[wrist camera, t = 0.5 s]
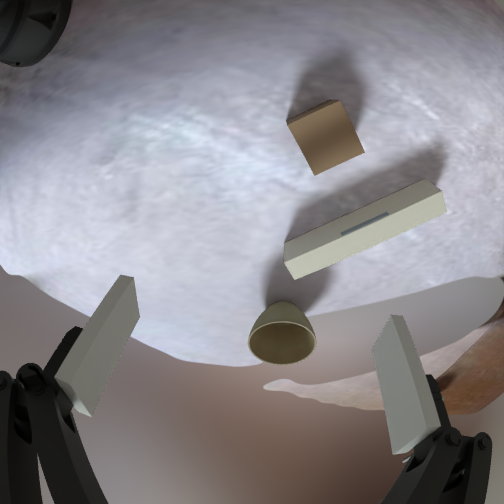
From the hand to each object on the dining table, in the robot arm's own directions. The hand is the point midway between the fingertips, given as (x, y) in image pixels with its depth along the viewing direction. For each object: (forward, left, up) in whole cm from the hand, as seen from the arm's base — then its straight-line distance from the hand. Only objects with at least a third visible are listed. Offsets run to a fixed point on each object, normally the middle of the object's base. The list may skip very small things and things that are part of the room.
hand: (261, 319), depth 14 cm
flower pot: (+21, -9, -25) cm, 34 cm away
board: (+11, +8, -25) cm, 28 cm away
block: (-2, +8, -25) cm, 26 cm away
